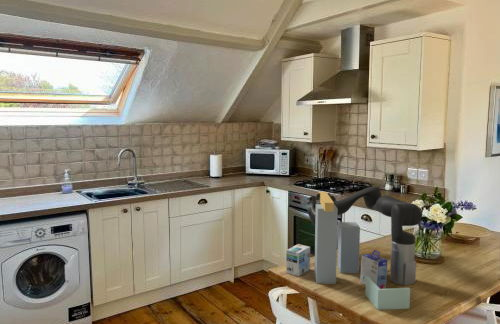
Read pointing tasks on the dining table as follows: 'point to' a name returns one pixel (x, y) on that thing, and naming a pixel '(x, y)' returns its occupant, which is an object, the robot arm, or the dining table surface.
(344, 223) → the low post
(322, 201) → the rail
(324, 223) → the tall post
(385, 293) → the l-shaped corner panel
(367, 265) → the ink cartridge box
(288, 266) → the light bulb box
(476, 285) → the dining table surface
